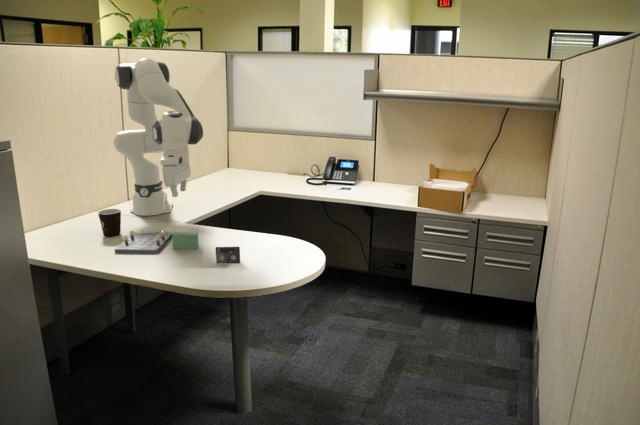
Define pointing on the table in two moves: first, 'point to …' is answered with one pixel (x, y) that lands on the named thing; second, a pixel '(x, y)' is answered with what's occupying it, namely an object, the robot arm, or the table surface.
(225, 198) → the table surface
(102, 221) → the coffee mug
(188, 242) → the green block
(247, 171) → the table surface
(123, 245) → the chassis plate
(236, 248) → the mini dv tape
